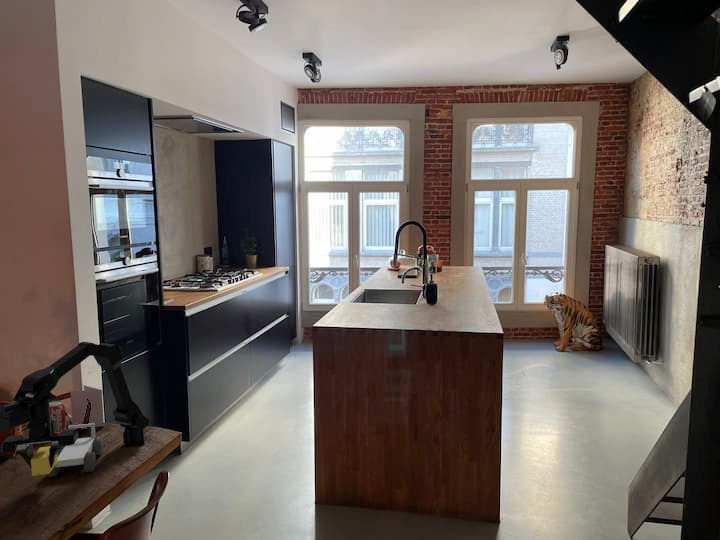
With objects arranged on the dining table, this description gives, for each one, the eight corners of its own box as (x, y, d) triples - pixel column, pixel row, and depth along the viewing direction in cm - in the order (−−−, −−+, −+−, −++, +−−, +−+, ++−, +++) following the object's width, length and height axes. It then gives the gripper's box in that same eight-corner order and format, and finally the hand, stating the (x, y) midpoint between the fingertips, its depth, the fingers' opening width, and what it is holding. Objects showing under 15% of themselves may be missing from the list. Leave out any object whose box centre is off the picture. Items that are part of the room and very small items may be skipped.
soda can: (70, 430, 194) (68, 400, 193) (58, 438, 187) (56, 407, 186) (53, 430, 195) (51, 399, 194) (40, 438, 188) (38, 406, 187)
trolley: (64, 454, 175) (62, 425, 174) (103, 449, 178) (102, 421, 177) (47, 480, 158) (45, 448, 157) (91, 475, 161) (89, 443, 160)
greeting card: (106, 426, 198) (103, 389, 197) (87, 433, 192) (85, 395, 190) (87, 421, 204) (85, 384, 202) (69, 427, 197) (67, 390, 196)
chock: (57, 461, 158) (56, 445, 157) (49, 473, 150) (48, 457, 149) (41, 463, 156) (40, 447, 156) (32, 475, 149) (30, 459, 148)
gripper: (81, 404, 160) (84, 452, 161) (13, 410, 155) (17, 459, 156) (71, 418, 149) (74, 468, 151) (-2, 425, 144) (2, 477, 146)
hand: (42, 468), depth 151 cm, fingers closed on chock, 4 cm apart
